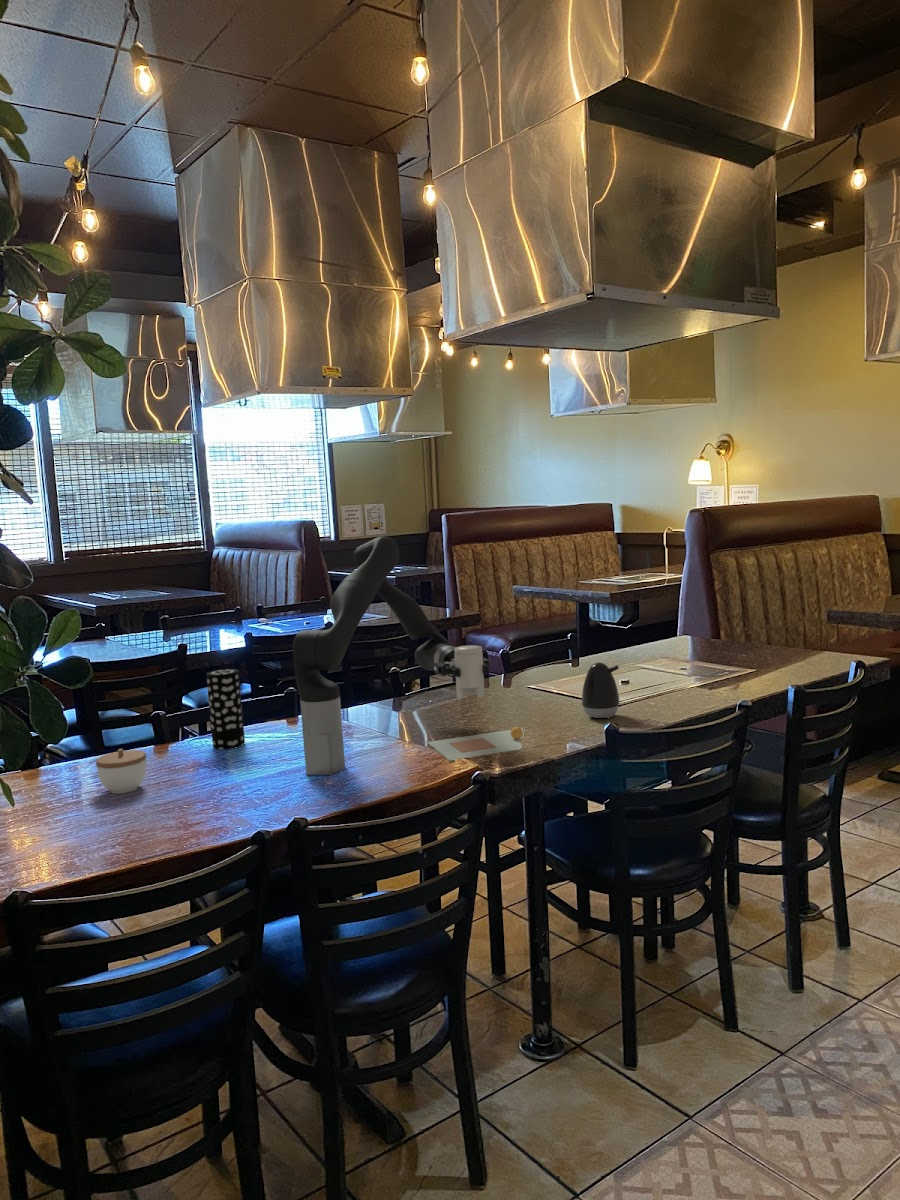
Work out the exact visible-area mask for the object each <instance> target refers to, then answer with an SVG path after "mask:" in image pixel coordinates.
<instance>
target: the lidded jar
mask: <svg viewBox="0 0 900 1200" xmlns="http://www.w3.org/2000/svg"><path fill="white" fill-rule="evenodd" d="M146 758H147V753H146V752H145V751H143V750H138V749H130V750H129V749H128V750H124V749H123V748H119V749H117V751H114V752H110V753H106V754H104V755H101V756H99V757H98V758H97V759H96V760H95V763H96V769H97V774H98V778H99V782H100V783H101V784H102V786H103V787H104V788H105V789H107V790H108V791H109V792H110V793H111V794H114V795H115V794H126V793H131V792H134V791H136V790H138V789H139V786H140V785H141V784H142V783H143V781H144V779H145V777H146V772H147V759H146Z"/></svg>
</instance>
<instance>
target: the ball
mask: <svg viewBox="0 0 900 1200" xmlns="http://www.w3.org/2000/svg"><path fill="white" fill-rule="evenodd" d="M520 728H521V727H518V726H515V727H512V728H511V729H510V730H511V736H512V737H513V738H514V739H519V738H521V736H522V734H523V733H522V730H521V729H520Z"/></svg>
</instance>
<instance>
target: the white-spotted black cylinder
mask: <svg viewBox="0 0 900 1200" xmlns="http://www.w3.org/2000/svg"><path fill="white" fill-rule="evenodd" d="M239 671H240V670H239V669H236V668H226V669H225V668H224V669H215V670H212V671H211V670H210V671H209V672H206V684H207V693H208V694H207V696H208V705H209V707H208V708H209V719H210V726H211V727H210V728H211V739H212V748H213V747H214V748H216V749H215V750H217V749H229V750H232V749H231V748H235V747H239V746H241V745H243V744H244V743H245V744H246V742H245V741H246V739H245V731H244V730H245V729H244V728H245V727H244V715H243V706H242V695H241V694H242V692H241V684H240V683H241V682H240V672H239ZM243 746H244V745H243ZM241 747H242V746H241ZM214 748H213V749H214ZM239 748H240V747H239ZM235 749H236V748H235Z"/></svg>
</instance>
